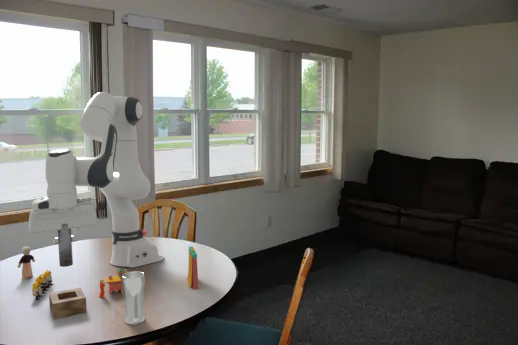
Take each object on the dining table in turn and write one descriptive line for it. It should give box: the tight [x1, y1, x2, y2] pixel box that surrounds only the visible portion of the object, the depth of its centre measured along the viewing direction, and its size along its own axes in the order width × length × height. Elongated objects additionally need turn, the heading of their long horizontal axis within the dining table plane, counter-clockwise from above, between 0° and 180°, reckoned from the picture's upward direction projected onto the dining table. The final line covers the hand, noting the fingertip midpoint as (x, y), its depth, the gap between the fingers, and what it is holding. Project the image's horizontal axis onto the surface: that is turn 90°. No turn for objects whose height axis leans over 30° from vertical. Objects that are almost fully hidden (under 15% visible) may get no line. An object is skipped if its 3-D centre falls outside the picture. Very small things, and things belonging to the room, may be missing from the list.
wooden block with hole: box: [48, 287, 88, 320], centre depth 155 cm, size 10×10×5 cm
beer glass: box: [121, 270, 146, 326], centre depth 146 cm, size 7×7×15 cm
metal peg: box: [57, 224, 74, 268], centre depth 152 cm, size 4×4×14 cm
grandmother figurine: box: [17, 246, 36, 281], centre depth 184 cm, size 8×4×13 cm, turn 168°
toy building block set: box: [98, 245, 199, 299], centre depth 174 cm, size 12×35×14 cm, turn 106°
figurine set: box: [31, 269, 54, 301], centre depth 170 cm, size 3×16×7 cm, turn 6°
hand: (64, 242), depth 152 cm, fingers closed on metal peg, 4 cm apart
